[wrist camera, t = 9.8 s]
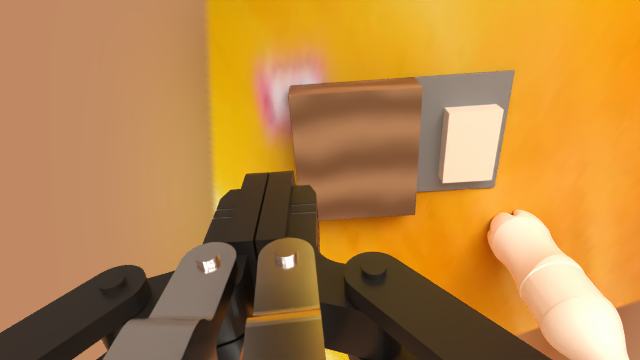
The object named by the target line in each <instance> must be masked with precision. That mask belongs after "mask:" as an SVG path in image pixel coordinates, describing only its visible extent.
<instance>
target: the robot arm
mask: <svg viewBox="0 0 640 360" xmlns="http://www.w3.org/2000/svg"><path fill="white" fill-rule="evenodd" d="M319 242H320V237H319V220H318V209H317V197H316V192H315V191H314V190H313V188H312V187H311V186H310V185H299V186H295V178H294V172H293V171H282V172H270V173H269V172H267V173H251V174H246V175H245V178H244V181H243V184H242V187H241V189H236V190H230V191H229V192H228V193H227V194H226V195H224V196H223V197H222V198H221V199H220V202H219V204H218V207H217V211H216V212H215V214H214V217H213V220H212V222H211V224H210V227H209V229H208V232H207V234H206V237H205V239H204V242H203V244H202V245H199V246H197V247H195V248H193V249H192V250H190V251H189V252H188V253H186V254H185V256H184V257H183V258H182V260H181V261H180V263H179V265H178V266H177V268H176V270H175V271H172V272H169V273H165V274H162V275H158V276H155V277H151V278H148V279H147V277H146V275H145V272H144V270H143V269H142V268H140V267H138V266H134V265H123V266H118V267H114V268H111V269H109V270H106V271H104V272H102V273H100V274H99V275H97V276H95V277H94V278H92V279H91V280H89V281H87V282H85V283H83V284H82V285H80V286H78V287H77V288H75V289H73V290H72V291H70V292H68V293H67V294H65V295H63V296H62V297H60V298H58V299H56V300H55V301H53V302H51V303H50V304H48V305H46V306H45V307H43V308H42V309H40V310H38V311H36V312H35V313H33V314H31V315H30V316H28V317H26V318H24V319H23V320H21V321H20V322H18V323H16V324H14V325H13V326H11V327H10V328H8V329H6V330H4V331H3V332H1V333H0V360H72V359H74V358H75V357H76V356H78V355H79V354H81V353H82V352H83V351H85V350H86V349H88V348H89V347H90V346H92V345H93V344H95V343H96V342H98V341H99V340H100V339H102V341H103V343H104V345H105V347H106V349H107V350H108V351H107V352H106V353H105V354H103V355H102V356H101V357H99V358H98V359H97V360H326V357H325V348H326V349H330V350H334V351H338V352H341V353H345V354H348V356H349V359H350V360H552V359H550V358H549V357H547V356H546V355H544V354H542V353H541V352H539V351H538V350H536V349H534V348H533V347H532V346H530V345H529V344H527V343H525V342H524V341H522V340H521V339H519V338H518V337H516V336H515V335H513V334H512V333H510V332H508V331H507V330H505V329H504V328H502V327H501V326H499V325H498V324H496V323H495V322H493V321H491V320H490V319H488V318H487V317H485V316H484V315H482V314H481V313H479V312H478V311H476V310H475V309H473V308H471V307H470V306H468V305H467V304H465V303H464V302H462V301H461V300H459V299H458V298H456V297H454V296H453V295H451V294H450V293H448V292H447V291H445V290H444V289H442V288H441V287H439V286H437V285H436V284H434V283H433V282H431V281H430V280H428V279H427V278H425V277H424V276H422V275H420V274H419V273H417V272H416V271H414V270H413V269H411V268H410V267H408V266H407V265H405V264H403V263H402V262H400V261H399V260H397V259H396V258H394V257H392V256H390V255H388V254H385V253H380V252H365V253H361V254H358V255H356V256H354V257H353V258H351V259H350V260H349V261H348V262H347V263H346V264H343V263H338V262H334V261H331V260H329V259H327V258H325V257H324V256H323V255H322V254H321V253H320V243H319Z"/></svg>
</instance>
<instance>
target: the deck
mask: <svg viewBox="0 0 640 360" xmlns="http://www.w3.org/2000/svg"><path fill="white" fill-rule="evenodd" d="M422 93H423V87H422V86H421V84H420V83H419V82H418V81H417V80H416V78H415V77H409V78H394V79H380V80H365V81H351V82H336V83H322V84H307V85H293V86H290V90H289V95H288V99H289V108H290V117H291V126H292V135H293V145H294V154H295V163H296V172H297V181H298V186H299V185H310V186H311V187H312V188H313V190H314V191H315V192H316V197H317V209H318V220H319V221H320V220H337V219H354V218H371V217H388V216H404V215H415V206H416V190H417V174H418V158H419V142H420V125H421V109H422Z"/></svg>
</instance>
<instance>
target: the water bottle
mask: <svg viewBox="0 0 640 360" xmlns="http://www.w3.org/2000/svg"><path fill="white" fill-rule="evenodd" d="M487 238H488V242H489V245H490V247H491V250H492V251H493V253H494V255H495V256H496V258H497V259H498V260H499V261H500V262H502V263H503V264H504V265H505V267H506V268H507V269H508V270H509V272H510V273H511V275H512V277H513V279H514V281H515V283H516V286H517V289H518V292H519V296H520V298H521V299H522V301H523V302H524V303H525V304H526V305H527V307H528V309H529V310H530V312H531V314H532V315H533V317H534V319H535V320H536V322H537V324H538V325H539V327H540V328H541V332H542V334H543V335H544V337H545V338H546V340H547V341H548V342H549V343H550V344H551V345H552V346H553V347H554V348H555V349H556V350H558V351H559V352H561V353H562V354H563V355H565V356H566V357H568V358H569V359H571V360H629V358H628V355H627V351H626V344H625V336H624V331H623V326H622V322H621V319H620V316H619V314H618V312H617V310H616V309H615V307H614V306H613V305H612V303H611V302H610V301H609V300H607V299H606V298H605V297H604V296H603V295H602V294H601V292H600V291H599V290H598V289H597V288H596V287H595V285H594V284H593V283H592V282H591V281H590V280H589V278H588V277H587V276H586V275H585V273H584V271H583V269H582V268H581V267H580V266H579V265H578V264H577V263H576V262H575V261H574V260H572V259H571V258H569V257H568V256H567V255H565V254H564V253H563V252H562V251H561V250H560V249H559V248H558V247H557V245H556V244H555V243H554V241H553V239H552V237H551V235H550V232H549V230H548V229H547V228H546V226H545V225H544V224H543V223H542V222H541V221H540V220H539V219H538V218H537V217H535V216H534V215H532V214H531V213H529V212H526V211H523V210H519V209H518V210H515V211H514V212H513V216H512V215H511V214H509V213H505V212H502V213H499V214H497V215H496V216H495V217H494V218H493V220H492V221H491V224H490V230H488V235H487Z"/></svg>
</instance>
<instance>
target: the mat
mask: <svg viewBox="0 0 640 360" xmlns="http://www.w3.org/2000/svg"><path fill="white" fill-rule="evenodd" d="M514 72H515V71H514V70H510V71H496V72H481V73H467V74H452V75H438V76H423V77H415V78H416V80H417V81H418V82H419V83H420V84H421V86H422V87H423V93H422V109H421V125H420V142H419V158H418V174H417V190H416V192H425V191H441V190H458V189H474V188H490V187H494V186H495V180H496V174H497V169H498V163H499V157H500V152H501V146H502V140H503V134H504V129H505V123H506V117H507V112H508V106H509V100H510V95H511V89H512V83H513V77H514ZM490 104H497V105H498V106H500V107H501V108H502V109H503V110H504V111H503V117H502V123H501V129H500V135H499V141H498V146H497V152H496V158H495V164H494V170H493V176H492V180H486V181H470V182H454V183H442V181H441V180H440V178H439V176H438V171H439V160H440V149H441V138H442V127H443V116H444V108H446V107H460V106H475V105H490Z"/></svg>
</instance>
